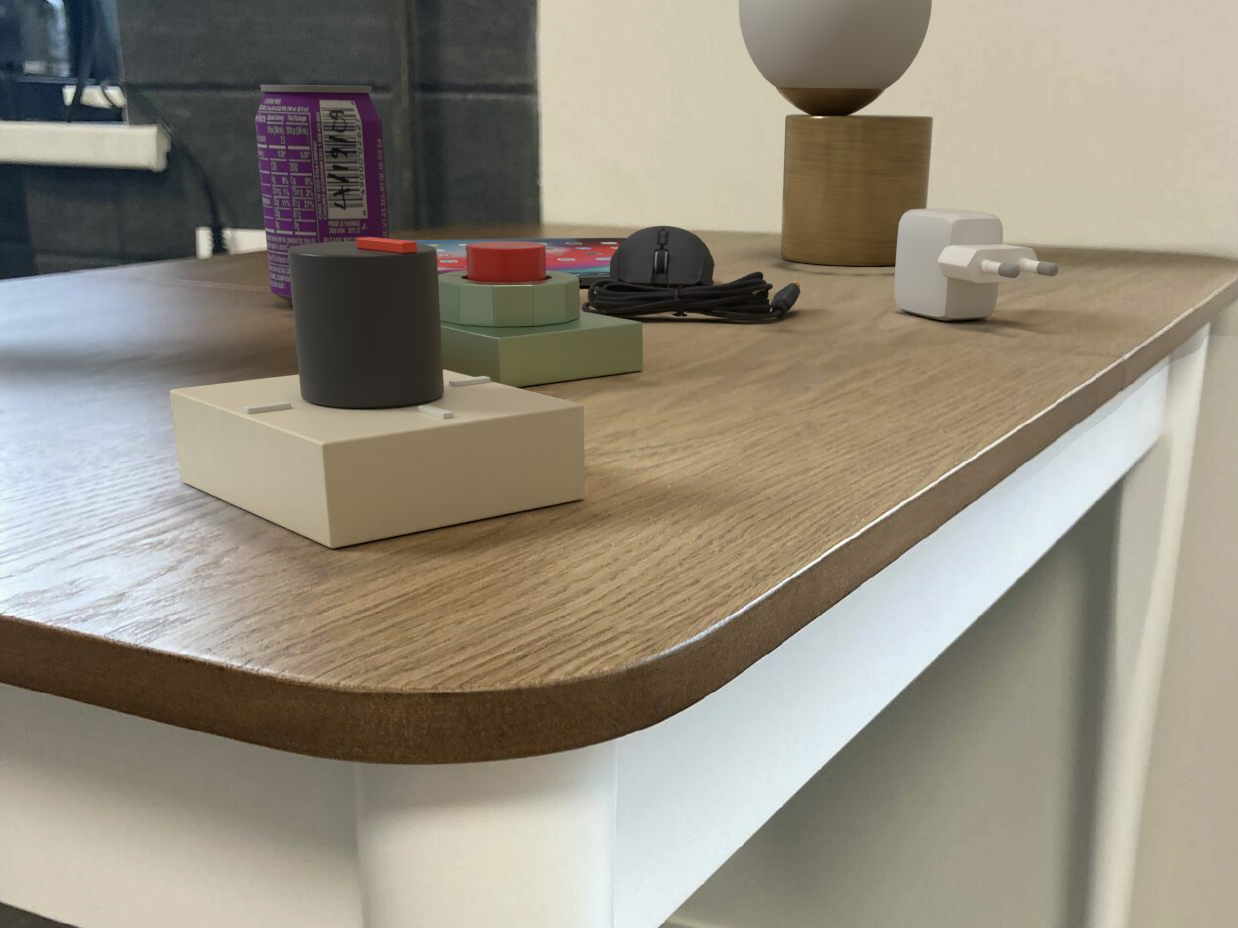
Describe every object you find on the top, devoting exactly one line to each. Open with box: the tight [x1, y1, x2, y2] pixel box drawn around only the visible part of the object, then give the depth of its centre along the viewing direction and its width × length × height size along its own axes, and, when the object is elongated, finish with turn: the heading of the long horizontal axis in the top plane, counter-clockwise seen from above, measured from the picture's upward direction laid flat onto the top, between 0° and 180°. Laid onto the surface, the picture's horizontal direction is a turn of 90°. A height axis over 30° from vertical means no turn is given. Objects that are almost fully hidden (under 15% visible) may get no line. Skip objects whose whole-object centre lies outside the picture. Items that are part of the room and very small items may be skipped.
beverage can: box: [254, 84, 390, 306], centre depth 86 cm, size 7×7×12 cm
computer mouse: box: [581, 225, 801, 320], centre depth 89 cm, size 12×17×4 cm
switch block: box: [438, 270, 643, 388], centre depth 69 cm, size 10×8×4 cm
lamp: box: [738, 0, 934, 267], centre depth 111 cm, size 15×14×25 cm
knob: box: [288, 237, 444, 408], centre depth 45 cm, size 4×4×5 cm
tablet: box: [404, 237, 627, 287], centre depth 108 cm, size 19×25×1 cm
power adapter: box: [893, 207, 1060, 322], centre depth 83 cm, size 11×5×6 cm, turn 25°
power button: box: [466, 241, 546, 282], centre depth 68 cm, size 4×4×2 cm
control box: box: [169, 369, 586, 549], centre depth 47 cm, size 10×9×3 cm
